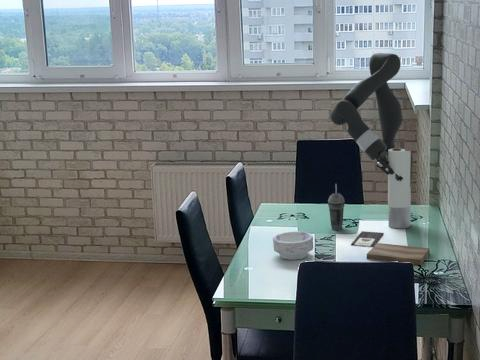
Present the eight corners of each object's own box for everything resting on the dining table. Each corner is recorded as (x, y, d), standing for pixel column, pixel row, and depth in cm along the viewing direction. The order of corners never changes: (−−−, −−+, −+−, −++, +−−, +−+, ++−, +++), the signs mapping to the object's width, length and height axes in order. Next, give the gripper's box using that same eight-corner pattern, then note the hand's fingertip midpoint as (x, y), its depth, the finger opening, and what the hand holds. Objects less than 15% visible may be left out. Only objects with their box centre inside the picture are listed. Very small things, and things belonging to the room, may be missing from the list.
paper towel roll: (384, 205, 262) (384, 149, 257) (397, 203, 264) (398, 147, 260) (396, 210, 256) (396, 152, 251) (409, 207, 258) (410, 150, 253)
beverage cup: (345, 225, 306) (344, 181, 302) (345, 230, 299) (345, 184, 295) (328, 226, 307) (327, 181, 303) (328, 231, 300) (327, 185, 296)
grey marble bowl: (267, 253, 274) (266, 234, 273) (303, 247, 280) (302, 228, 278) (283, 265, 261) (282, 244, 259) (320, 258, 266) (320, 238, 264)
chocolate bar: (383, 232, 292) (373, 245, 276) (383, 235, 292) (373, 248, 276) (362, 231, 296) (351, 244, 280) (362, 233, 296) (351, 246, 280)
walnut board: (377, 247, 275) (377, 243, 274) (429, 253, 266) (429, 248, 265) (366, 259, 263) (366, 253, 262) (420, 265, 254) (420, 259, 253)
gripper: (370, 141, 253) (403, 176, 249) (385, 134, 264) (416, 169, 261) (357, 154, 257) (389, 190, 253) (372, 148, 268) (402, 181, 265)
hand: (402, 179), depth 257 cm, fingers closed on paper towel roll, 3 cm apart
